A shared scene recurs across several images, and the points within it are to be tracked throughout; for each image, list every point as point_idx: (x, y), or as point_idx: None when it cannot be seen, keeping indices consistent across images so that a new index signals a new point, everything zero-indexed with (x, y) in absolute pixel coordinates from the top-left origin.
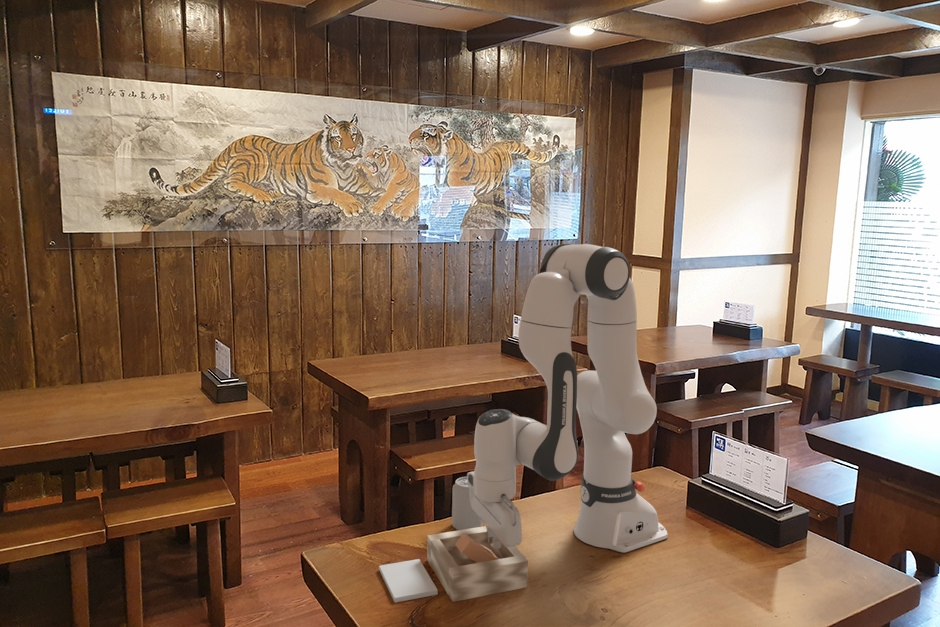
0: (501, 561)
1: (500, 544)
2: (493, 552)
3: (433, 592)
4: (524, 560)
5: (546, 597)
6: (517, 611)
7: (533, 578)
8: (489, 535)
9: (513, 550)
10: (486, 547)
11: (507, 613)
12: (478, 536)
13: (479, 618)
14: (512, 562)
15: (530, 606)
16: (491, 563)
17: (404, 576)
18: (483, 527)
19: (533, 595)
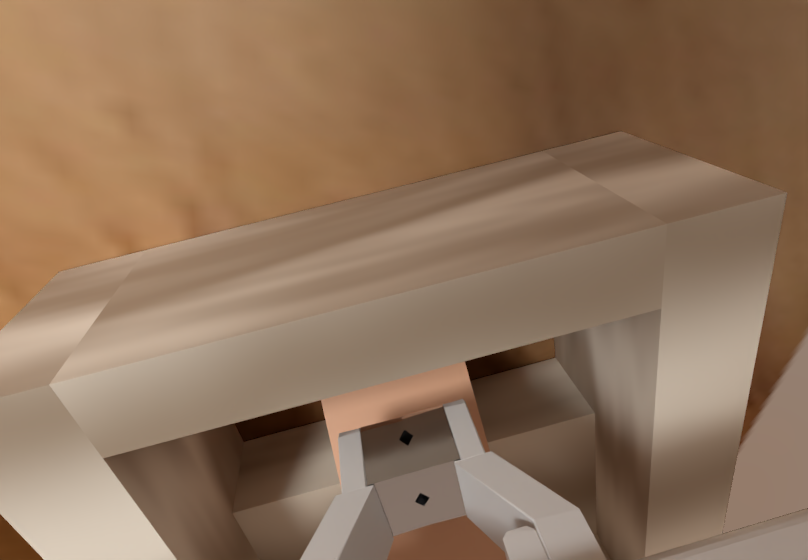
0: (694, 410)
1: (473, 425)
2: None
3: None
4: (768, 228)
5: (775, 17)
6: (805, 234)
7: (528, 53)
8: (388, 553)
9: (556, 303)
10: (333, 450)
11: (793, 284)
12: (180, 520)
13: (763, 397)
14: (747, 335)
15: (803, 154)
16: (687, 469)
17: None
18: (39, 525)
19: (717, 108)
